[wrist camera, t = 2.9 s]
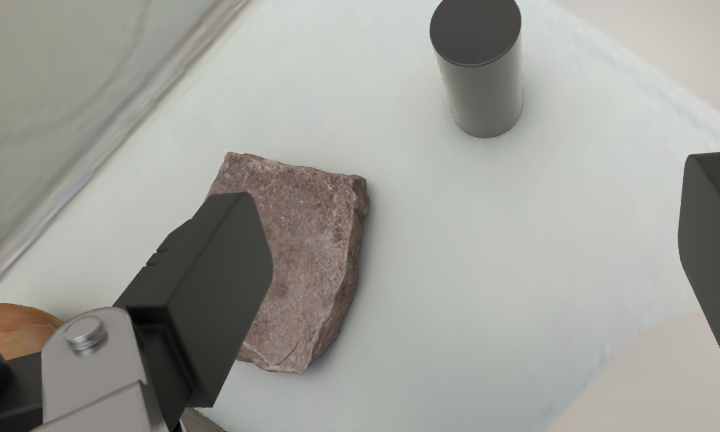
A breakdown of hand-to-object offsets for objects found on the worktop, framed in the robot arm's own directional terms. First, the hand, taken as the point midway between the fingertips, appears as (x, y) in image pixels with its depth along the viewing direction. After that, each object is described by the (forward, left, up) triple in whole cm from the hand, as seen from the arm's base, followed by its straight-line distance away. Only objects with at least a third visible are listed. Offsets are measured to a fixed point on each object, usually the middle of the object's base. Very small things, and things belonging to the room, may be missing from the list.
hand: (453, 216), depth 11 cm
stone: (+12, +3, -22) cm, 25 cm away
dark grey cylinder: (+6, -10, -22) cm, 25 cm away
